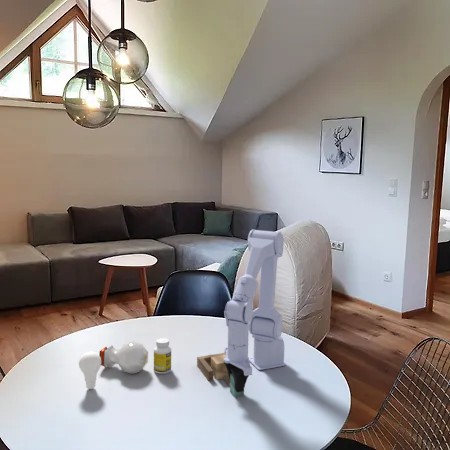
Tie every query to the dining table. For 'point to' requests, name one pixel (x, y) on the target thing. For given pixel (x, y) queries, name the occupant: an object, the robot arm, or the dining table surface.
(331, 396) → the dining table surface
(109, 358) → the potion bottle
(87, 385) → the lightbulb
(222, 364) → the wooden blocks on rod
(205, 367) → the wooden u-shaped bracket
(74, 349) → the dining table surface
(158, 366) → the supplement bottle
